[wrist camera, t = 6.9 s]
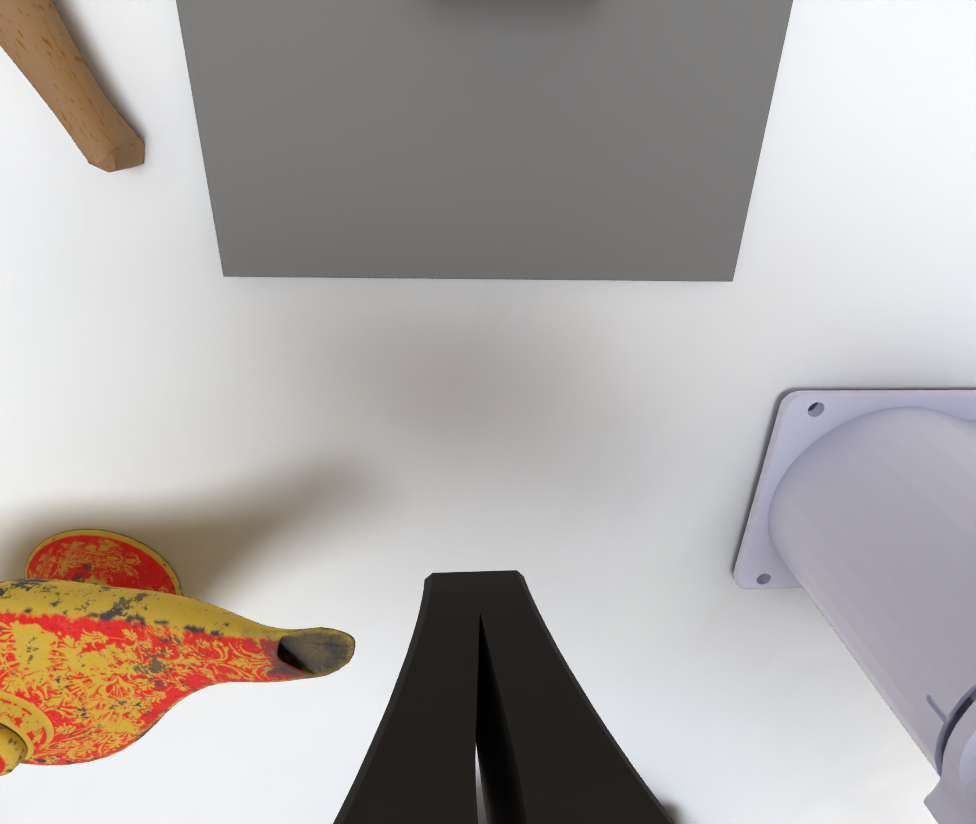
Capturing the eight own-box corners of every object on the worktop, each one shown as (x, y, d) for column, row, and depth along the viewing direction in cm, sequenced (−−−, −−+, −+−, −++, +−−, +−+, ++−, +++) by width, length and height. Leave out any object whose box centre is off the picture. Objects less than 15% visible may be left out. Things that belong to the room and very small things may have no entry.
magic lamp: (424, 552, 22) (409, 928, 12) (4, 709, 24) (-295, 1132, 14) (327, 393, 19) (201, 725, 9) (-145, 590, 21) (-656, 1028, 11)
